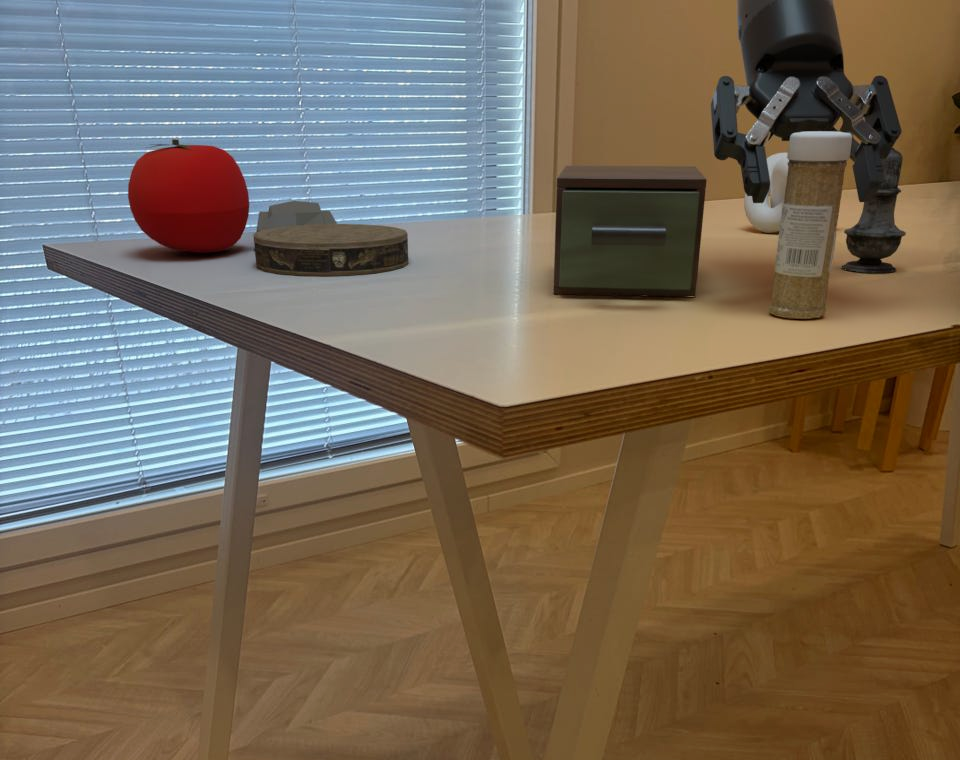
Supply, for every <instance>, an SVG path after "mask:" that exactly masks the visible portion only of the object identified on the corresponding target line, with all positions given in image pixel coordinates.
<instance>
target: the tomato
mask: <svg viewBox="0 0 960 760" xmlns="http://www.w3.org/2000/svg"><path fill="white" fill-rule="evenodd" d="M171 143H172V144H171V145H172V146H169V144H165V143H156V144H155V143H153V144H150V146H147V147H145V149H148V148H154V147H161V146H162V147H161V148H158V149H157V148H156V149H153V150H151V151H147V152H145V153H143V155H142V156H141V157H139V158H138V159H137V160H136V161H135V163H134V166H133V168H132V169H131V172H130V177H129V180H128V185H127V186H128V187H127V199H128V203H129V209H130V212H131V214H132V217H133V219H134V221H135V223H136V225H138V227H139V228H140V231H142V233H144V234H145V235H146V236H147V237H148V238H150V239H151V240H152V241H154V242H155V243H157V244H159V245H161V246H163V247H166V248H168V249H171V250H175V251H179V252H186V253H187V252H189V253H197V254H209V253H217V252H222V251H226V250H228V249H230V248H232V247H233V246H235V245H236V244H237V243H238V242H239V241H240V240H241V238H242V236H243V234H244V231H245V229H246V227H247V223H248V220H249V215H250V197H249V190H248V186H247V182H246V179H245V177H244V174H243V172H242V170H241V168H240V167H239V166H240V165H238V163H237V161H236V159H235V158H234V156H232V155H231V154H230V153H229V152H227V151H226V150H225V149H222V148H221V147H217V146H214V145H207V144H206V145H205V144H180V140H179V139H175V138H174V139H171ZM163 146H167V147H163Z"/></svg>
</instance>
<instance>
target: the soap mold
mask: <svg viewBox="0 0 960 760" xmlns="http://www.w3.org/2000/svg"><path fill="white" fill-rule="evenodd" d="M257 217H258V218H257V225H256V231H255V233H256V232H259V231H262V230H266V229H272V228H278V227H287V226H298V225H315V224H338V223H337V220H336V218H335V217H334V216H333V214H332V212H331V210H330V209H329V210H322V209H321V206H320V203H319V202H313V201H312V202H311V201H301V200H290V201H287V202H281V203H277V204H271V205H269V207H268V211H267V210H266V211H259V212H258V216H257ZM253 247H254V249H253V251H254V252H255V246H253Z"/></svg>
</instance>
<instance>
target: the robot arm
mask: <svg viewBox="0 0 960 760" xmlns="http://www.w3.org/2000/svg"><path fill="white" fill-rule="evenodd" d="M736 4H737V10H736V11H737V13H736V16H737V18H736V19H737V20H736V21H737V38H738V41H739V44H740V49H741V55H742V61H743V67H744V74H745V81H746V85H735V81H734V79H733V78H732V77H731V76H728V75H723V76H720V77H719V79H718V81H717V84H716V87H715V91H714V93H713V96H712V100H711V102H710V113H711V114H710V116H711V129H712V142H713V145H712V146H713V155H714V157H715V158H716V159H717V160H719V161H727V159H728V158H729V159H732V160H735V161H737V164H738V165H739V166H740V171H741V177H742V184H743V191H744V194H745V193H746V194H747V196H752V200H753V203H763V202H764V200H765V198H766V196H767V194H768V191H769V189H770V177H769V171H768V165H767V159H766V158H767V152H766V147H768V144H769V143H770V142H771V140H772V139H773V138H774V136H775V137H777V138H780V139H781V142H789V141H790V136H791V135H792V134H793V133H798V132H806V131H834V132H843V133H850V134H851V135H852V143H851V151H850V158H849V160H851V161H852V162H853V164H852V172H853V177H854V182H855V188H856V191H857V192H856V193H857V199H858V202H859V203H864V202H870V201H871V199H872V198H873V196H874V195H876V193H877V191H878V190H879V188H880V186H881V184H882V183H883V180H884V173H883V168H882V163H881V159H885V158H887V157H888V155H889V153H890V152H891V149H892V148H894V145H895V144H896V142H897V140H898V139H899V138H900V137H901V134H902V132H903V130H902V128H901V122H900V119H899V116H898V113H897V109H896V106H895V101H894V99H893V95H892V92H891V88H890V87H891V86H890V84H889V81H888V78H886V77H885V76H883V75H875V76H874V77H873V79H872V81H871V83H870V84H857V85H856V84H855V85H853V83H852V81H850V79H849V78H848V76H847V75H846V73H845V63H844V60H845V59H844V52H843V47H842V41H841V36H840V33H839V32H840V31H839V25H838V20H837V15H836V10H835V5H834V0H736ZM744 105H745V108H746V110H747V111H748V112H749V113H750V114H751V115H752V116H754V118H755V119H757V120H756V122H755V123H754V125H753V126H752V127H751V128H750V129H749V131H748V132H747V133H741V132H738V129H739V128H738V121H737V120H738V119H737V115H738V113H739V111H740V108H741V106H744ZM840 118H841V119H842V124H841V126H840V129H839V130H838V129H837V128H836V127H835V125H836V124H837V123H838V121H839V120H840ZM854 136H855V137H856V138H857V139H858V140H859V141H860V143H859V142H858V141H857V140H856V139H855V138H854ZM769 192H770V191H769Z"/></svg>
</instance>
